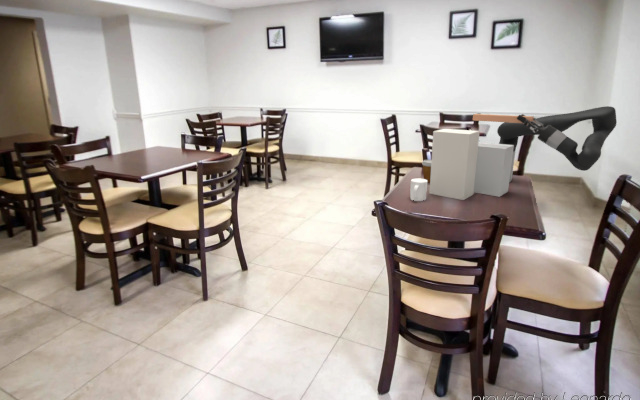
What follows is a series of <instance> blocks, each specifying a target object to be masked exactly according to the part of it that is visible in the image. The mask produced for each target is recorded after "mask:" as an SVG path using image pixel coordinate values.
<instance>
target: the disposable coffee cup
mask: <svg viewBox="0 0 640 400" xmlns="http://www.w3.org/2000/svg"><path fill="white" fill-rule="evenodd" d="M431 160H432V159H423V161H422V162H421V164H422V173H423V179H426V180H427V181H428V182H427V184H430V176H431Z"/></svg>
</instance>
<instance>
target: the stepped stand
mask: <svg viewBox="0 0 640 400" xmlns="http://www.w3.org/2000/svg"><path fill="white" fill-rule="evenodd" d="M479 141H480V130H473V131H471V130H470V129H469V130H467V129H455V128H441V129H437V130H434V131H432V146H431V147H432V148H431V159H430V160H431V176H430V183H429V194H431V195H435V196H438V197H439V196H441V197H443V198H444V197H446V198H451V199H456V200H461V201H465V200H466V199H468V198H470V197H471V196H473V195H474V194H476V193H477V194H481V195H488V196H492V197H502V196H503V195H505V194H506V193H508V192H509V186H510V182H509V180H510V172H511V164H512V156H513V148H514V145H506V144H499V143H495V142H494V143H493V142H481V141H480V142H479Z"/></svg>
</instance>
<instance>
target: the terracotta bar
mask: <svg viewBox="0 0 640 400" xmlns="http://www.w3.org/2000/svg"><path fill="white" fill-rule="evenodd" d="M518 116H519V115H510V114H506V115H505V114H489V113H486V114H483V113H474V114H473V115H472V121H477V122H494V123H495V122H496V123H504V122H509V123H522V122H521V121H519V120H518V119H517V117H518ZM523 117H525V118H526V119H528V120H530V121H533V119H535V117H534V116H529V115H528V116H527V115H525V116H523ZM527 124H529V123H527Z"/></svg>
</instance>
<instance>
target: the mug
mask: <svg viewBox="0 0 640 400" xmlns="http://www.w3.org/2000/svg"><path fill="white" fill-rule="evenodd" d="M427 182H428V181H427V180H426V179H424V178H420V177H419V178H418V177H417V178H411V180H410V187H409V188H410V190H409V192H410V193H409V195H410V197H409V198H410V200H411V201H413V200H414V201H413V202H424V201H426V200H427V190H428V183H427ZM423 200H424V201H423Z"/></svg>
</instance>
